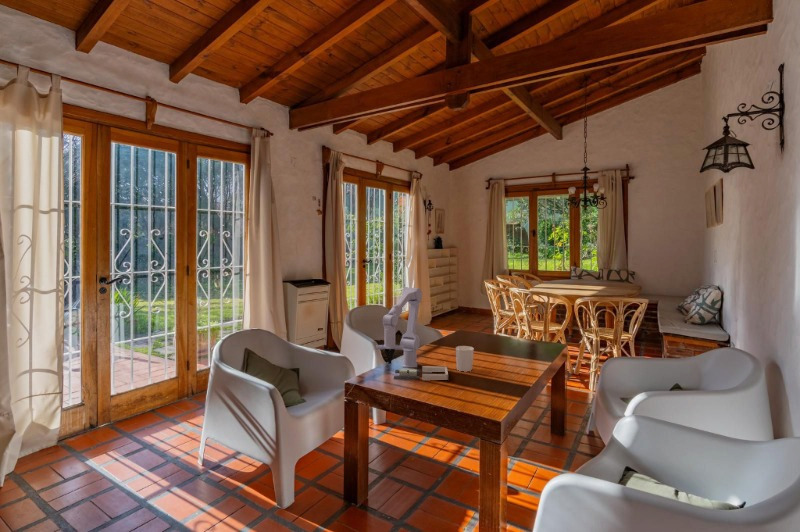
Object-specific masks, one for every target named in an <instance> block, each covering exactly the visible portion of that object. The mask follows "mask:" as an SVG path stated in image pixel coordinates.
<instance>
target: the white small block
mask: <svg viewBox="0 0 800 532" xmlns="http://www.w3.org/2000/svg"><path fill="white" fill-rule="evenodd" d="M398 370H399V373H398V376H408V373H407V370H408V369H407V368H399V369H398Z"/></svg>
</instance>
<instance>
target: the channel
mask: <svg viewBox="0 0 800 532" xmlns="http://www.w3.org/2000/svg"><path fill="white" fill-rule="evenodd" d="M399 370H400V369H395V370H394V373H395V374H399ZM420 372H421V371H420V369H417V374H420ZM407 374H409V369H407ZM393 379H394V380H412V379H419V380H420V376H419V375H417V376H409V375H407V376H399V375H393Z"/></svg>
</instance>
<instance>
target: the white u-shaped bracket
mask: <svg viewBox="0 0 800 532" xmlns="http://www.w3.org/2000/svg"><path fill="white" fill-rule="evenodd" d="M421 367H422V368H421V369H422V372H421V373H422V375H421V376H422V381H430V380H448V381H449V373H448V367H447V366H434V365H433V366H429V365H428V366H423V365H422V366H421ZM432 372H445V373H438V374H437V373H432Z"/></svg>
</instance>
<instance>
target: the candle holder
mask: <svg viewBox="0 0 800 532" xmlns="http://www.w3.org/2000/svg"><path fill="white" fill-rule="evenodd" d="M474 351H475V348H474V347H473V346H469V345H468V346H467V345H458V346H455V358H456V359H455V360H456V370H457V371H458V370H459V371H458V372H461V371H464V372H463V373H468V372H467V371H470V372H472V371H473V365H474V364H473V362H474ZM471 370H472V371H471Z"/></svg>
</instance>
